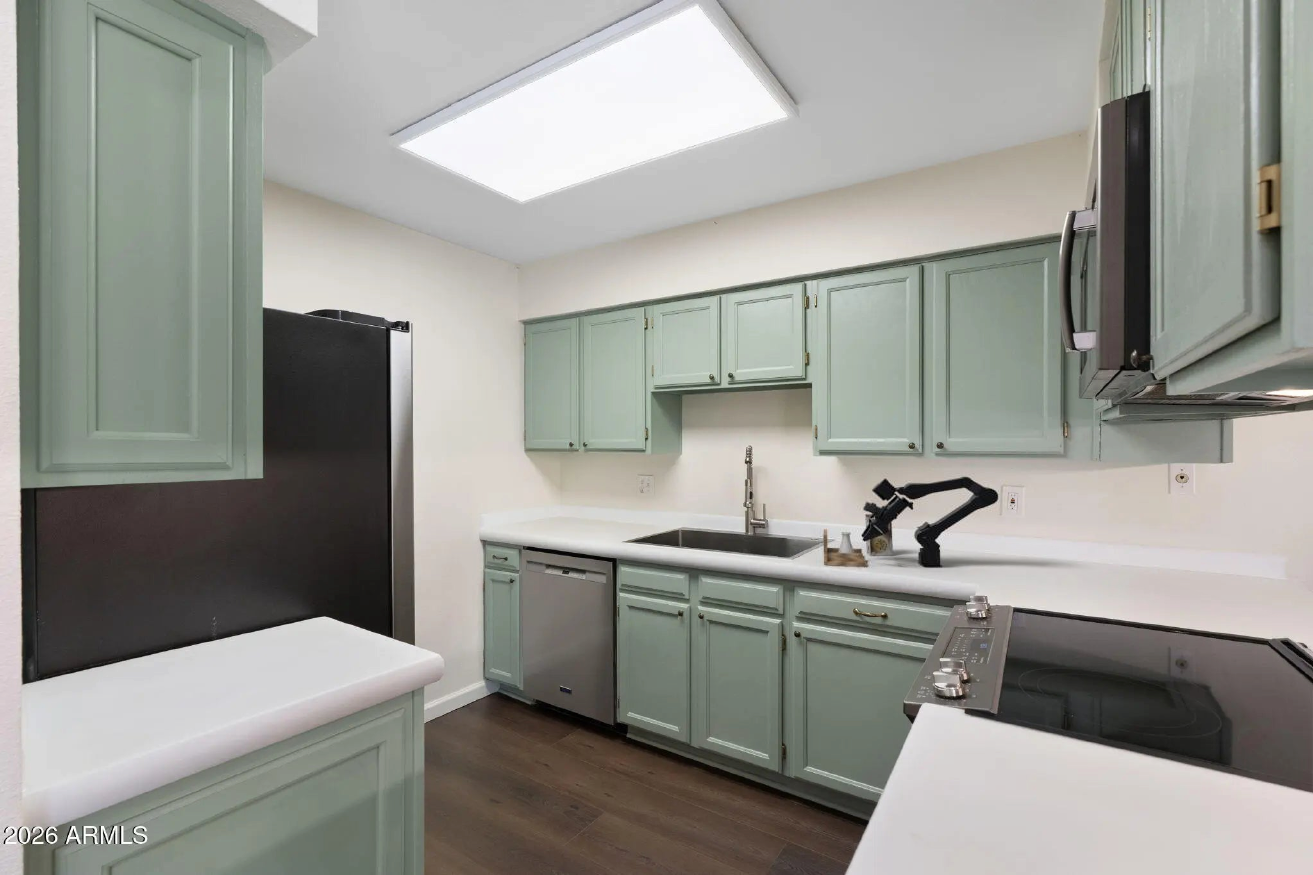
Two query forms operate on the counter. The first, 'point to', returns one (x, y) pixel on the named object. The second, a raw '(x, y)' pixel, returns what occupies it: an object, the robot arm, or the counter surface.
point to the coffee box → (880, 542)
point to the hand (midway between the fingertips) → (862, 538)
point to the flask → (846, 543)
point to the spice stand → (842, 556)
